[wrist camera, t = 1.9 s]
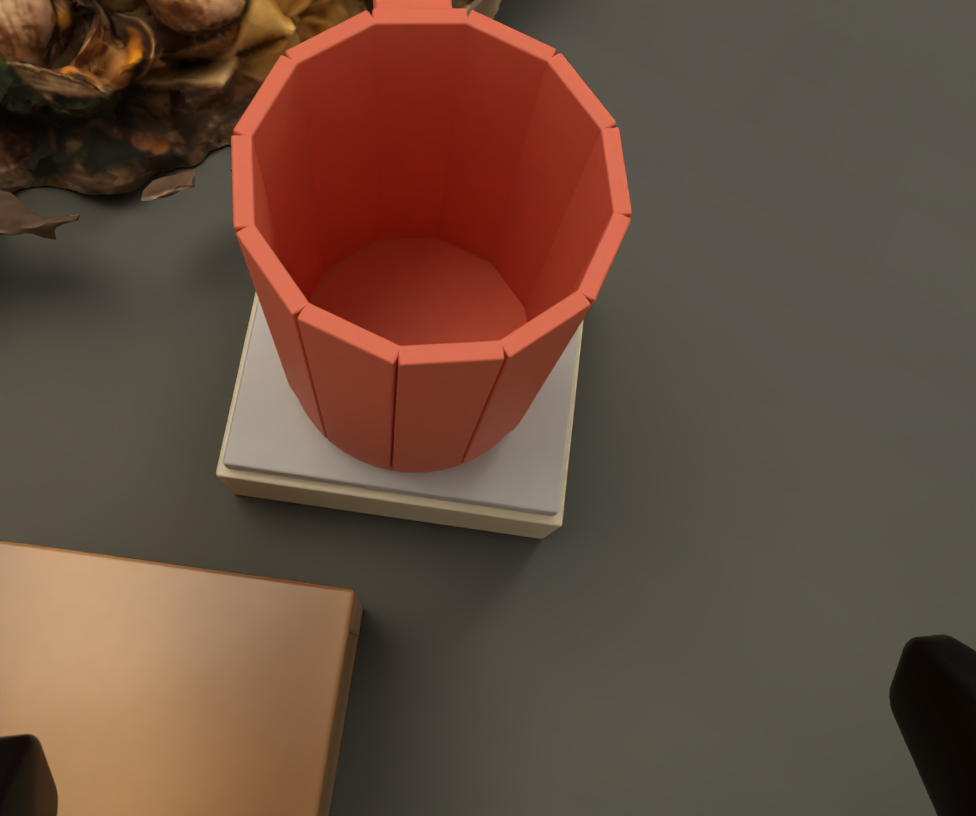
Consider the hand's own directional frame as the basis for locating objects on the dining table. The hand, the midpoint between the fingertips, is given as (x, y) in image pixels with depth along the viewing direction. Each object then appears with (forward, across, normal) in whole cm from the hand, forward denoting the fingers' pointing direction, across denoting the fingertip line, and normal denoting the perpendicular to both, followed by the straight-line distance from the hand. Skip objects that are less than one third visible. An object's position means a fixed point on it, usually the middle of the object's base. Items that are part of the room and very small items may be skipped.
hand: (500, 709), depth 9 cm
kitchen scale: (+14, 0, +4) cm, 15 cm away
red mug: (+13, 0, +1) cm, 13 cm away
